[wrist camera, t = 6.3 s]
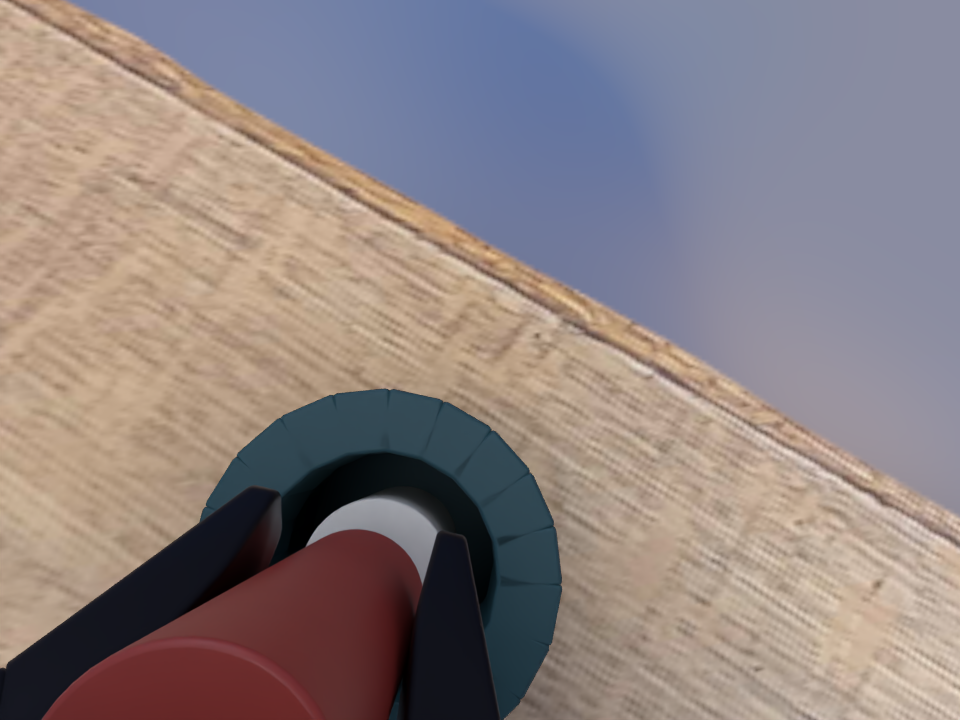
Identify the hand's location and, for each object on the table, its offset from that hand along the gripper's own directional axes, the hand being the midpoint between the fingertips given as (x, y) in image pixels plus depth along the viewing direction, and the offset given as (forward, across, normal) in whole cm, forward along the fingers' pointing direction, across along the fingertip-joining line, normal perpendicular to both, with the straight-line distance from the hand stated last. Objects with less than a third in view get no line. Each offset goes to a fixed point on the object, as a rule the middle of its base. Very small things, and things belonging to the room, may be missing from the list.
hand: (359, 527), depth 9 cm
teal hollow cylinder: (+8, 0, +10) cm, 13 cm away
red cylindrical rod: (+5, 0, +7) cm, 9 cm away
